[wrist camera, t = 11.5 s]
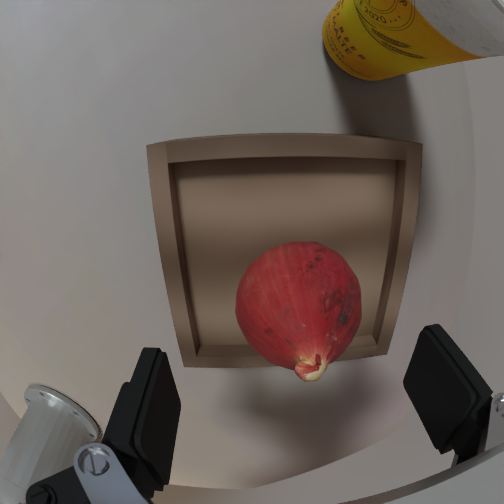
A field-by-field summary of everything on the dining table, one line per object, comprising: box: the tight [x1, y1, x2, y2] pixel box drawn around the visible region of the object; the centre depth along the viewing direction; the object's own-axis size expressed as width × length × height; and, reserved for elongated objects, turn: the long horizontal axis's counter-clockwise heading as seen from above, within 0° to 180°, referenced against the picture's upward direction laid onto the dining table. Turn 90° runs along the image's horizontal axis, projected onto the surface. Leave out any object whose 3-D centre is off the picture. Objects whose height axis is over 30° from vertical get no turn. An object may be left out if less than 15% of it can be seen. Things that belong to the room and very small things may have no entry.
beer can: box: [322, 0, 504, 81], centre depth 9 cm, size 6×6×15 cm
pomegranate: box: [235, 242, 362, 382], centre depth 13 cm, size 6×6×8 cm
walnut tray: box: [146, 133, 423, 368], centre depth 19 cm, size 14×14×6 cm
